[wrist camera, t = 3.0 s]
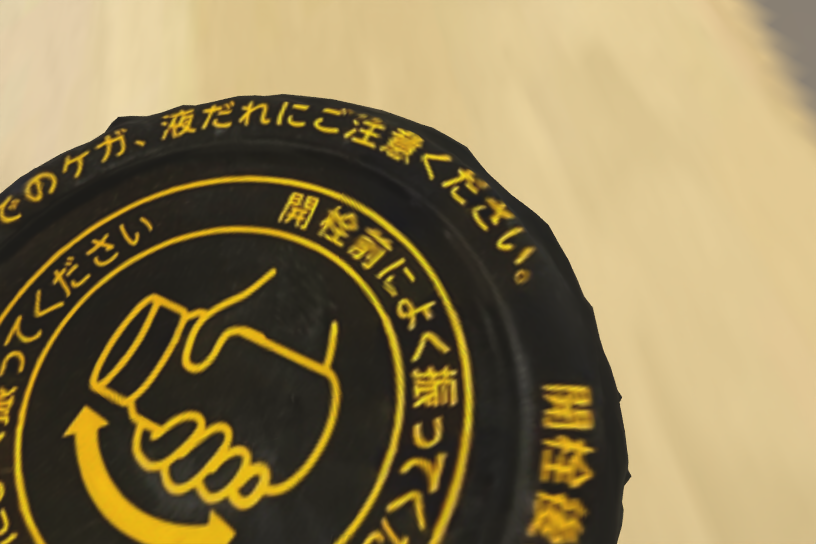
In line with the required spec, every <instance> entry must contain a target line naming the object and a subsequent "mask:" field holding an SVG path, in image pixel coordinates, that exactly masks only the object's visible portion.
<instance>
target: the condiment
mask: <svg viewBox="0 0 816 544" xmlns="http://www.w3.org/2000/svg"><path fill="white" fill-rule="evenodd" d="M621 399H622V396H621V395H620V393H619V392H618V390H617V387H616V383H615V380H614V377H613V373H612V370H611V367H610V365H609V362H608V360H607V358H606V355H605V353H604V351H603V347H602V344H601V341H600V337H599V333H598V329H597V324H596V320H595V315H594V311H593V307H592V306H591V305H590V303H589V302H588V301H587V300H586V298H585V297H584V295H583V293H582V290H581V288H580V285H579V283H578V280H577V278H576V276H575V274H574V271H573V269H572V267H571V265H570V262H569V260H568V258H567V257H566V255H565V253H564V252H563V250H562V248H561V247H560V245H559V243H558V241H557V239H556V238H555V236H554V234H553V232H552V230H551V229H550V227H549V225H548V224H547V223H546V222H545V221H544V220H543V219H541V218H540V217H539V216H538V215H537V214H536V213H535V212H533V211H532V210H531V209H530V208H528V207H527V206H526V205H524V204H523V203H522V202H520V201H519V200H518V199H516V198H515V197H514V196H512V195H511V194H510V193H509V192H508V191H507V190H506V189H504V188H503V187H502V186H501V185H500V184H499V183H498V182H497V181H496V180H495V179H494V178H493V177H492V176H490V175H489V174H488V173H487V172H486V170H485V169H484V168H483V167H482V166H481V164H480V163H479V162H478V161H477V160H476V158H475V157H474V156H473V154H472V153H471V152H470V150H469V149H468V148H467V147H466V146H464V145H462V144H461V143H459V142H457V141H455V140H454V139H452V138H450V137H449V136H447V135H445V134H443V133H441V132H439V131H438V130H436V129H434V128H432V127H428V126H425V125H422V124H419V123H416V122H414V121H411V120H408V119H406V118H403V117H400V116H397V115H394V114H391V113H388V112H386V111H383V110H378V109H374V108H370V107H365V106H361V105H356V104H352V103H347V102H342V101H338V100H333V99H325V98H317V97H307V96H297V95H287V94H280V95H271V96H256V95H254V96H237V97H232V98H227V99H223V100H219V101H215V102H210V103H205V104H200V105H195V106H194V105H182V106H179V107H176V108H173V109H170V110H168V111H165V112H162V113H158V114H154V115H150V116H125V117H118V118H117V119H116V120H115V121H113V122H112V123H111V125H110V126H109V127H108V129H107V130H106V132H105V133H103V134H102V135H100V136H99V137H97V138H95V139H94V140H92V141H90V142H88V143H86V144H83V145H81V146H78V147H75V148H73V149H71V150H69V151H66V152H64V153H62V154H60V155H58V156H56V157H55V158H53V159H51V160H50V161H48V162H46V163H44V164H43V165H41V166H39V167H37V168H35V169H33V170H32V171H30V172H29V173H27V174H25V175H24V176H22V177H20V178H19V179H18V180H16V181H15V182H14V183H13V184H12V185H10V186H9V187H8V188H7V189H5V190H4V191H3V192H2V193H1V194H0V544H617V541H618V537H619V534H620V530H621V527H622V520H623V511H624V510H623V505H622V498H623V490H624V485H625V484H626V483H627V481H628V480H629V479H630V477H631V474H630V473H629V471H628V453H627V445H626V437H625V430H624V424H623V419H622V414H621V409H620V403H619V402H620V400H621Z"/></svg>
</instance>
